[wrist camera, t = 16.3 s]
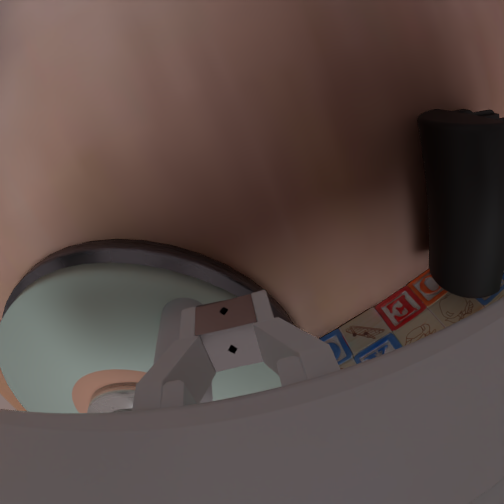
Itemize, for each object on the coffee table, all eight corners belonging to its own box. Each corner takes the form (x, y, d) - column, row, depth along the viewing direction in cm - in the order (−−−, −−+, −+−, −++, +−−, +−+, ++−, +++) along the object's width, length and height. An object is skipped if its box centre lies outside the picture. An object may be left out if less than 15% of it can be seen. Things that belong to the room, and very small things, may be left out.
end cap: (389, 115, 14) (474, 131, 8) (466, 101, 14) (543, 116, 8) (407, 258, 19) (465, 315, 13) (473, 227, 19) (531, 269, 13)
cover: (92, 365, 15) (69, 448, 10) (227, 400, 18) (237, 480, 13) (89, 427, 19) (78, 488, 13) (191, 451, 21) (194, 510, 16)
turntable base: (-35, 285, 15) (-45, 295, 14) (276, 188, 16) (283, 196, 14) (104, 451, 27) (102, 461, 25) (312, 425, 27) (315, 436, 26)
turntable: (1, 201, 12) (-74, 256, 6) (366, 330, 19) (409, 402, 13) (22, 416, 20) (6, 464, 14) (229, 471, 27) (235, 518, 22)
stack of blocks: (328, 382, 24) (375, 503, 13) (300, 346, 21) (354, 498, 10) (505, 257, 21) (586, 328, 10) (503, 205, 19) (606, 274, 8)
